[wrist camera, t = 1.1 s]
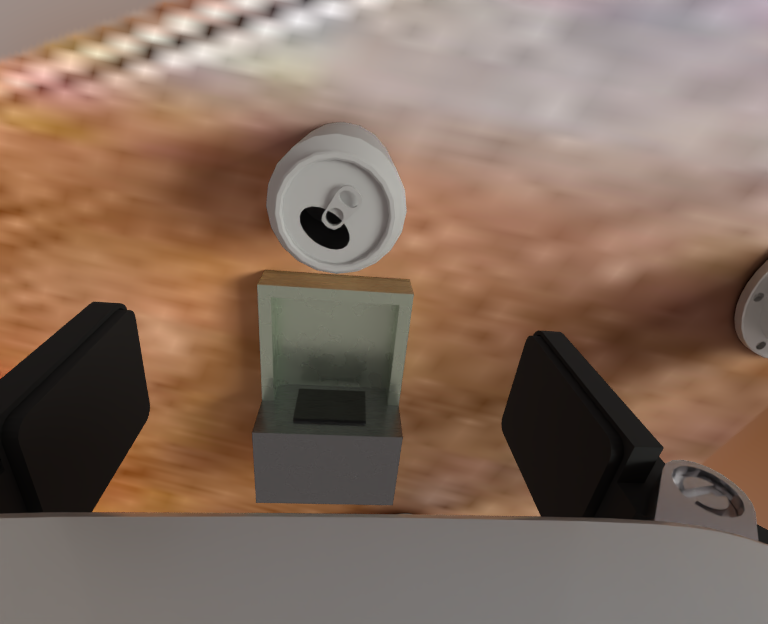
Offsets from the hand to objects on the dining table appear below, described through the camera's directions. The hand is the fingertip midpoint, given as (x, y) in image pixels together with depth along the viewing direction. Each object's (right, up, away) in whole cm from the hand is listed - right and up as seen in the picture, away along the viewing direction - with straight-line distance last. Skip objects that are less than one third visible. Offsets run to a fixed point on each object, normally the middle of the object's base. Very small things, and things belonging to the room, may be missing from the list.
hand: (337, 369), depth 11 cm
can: (-2, +12, +22) cm, 25 cm away
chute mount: (-4, -4, +30) cm, 30 cm away
